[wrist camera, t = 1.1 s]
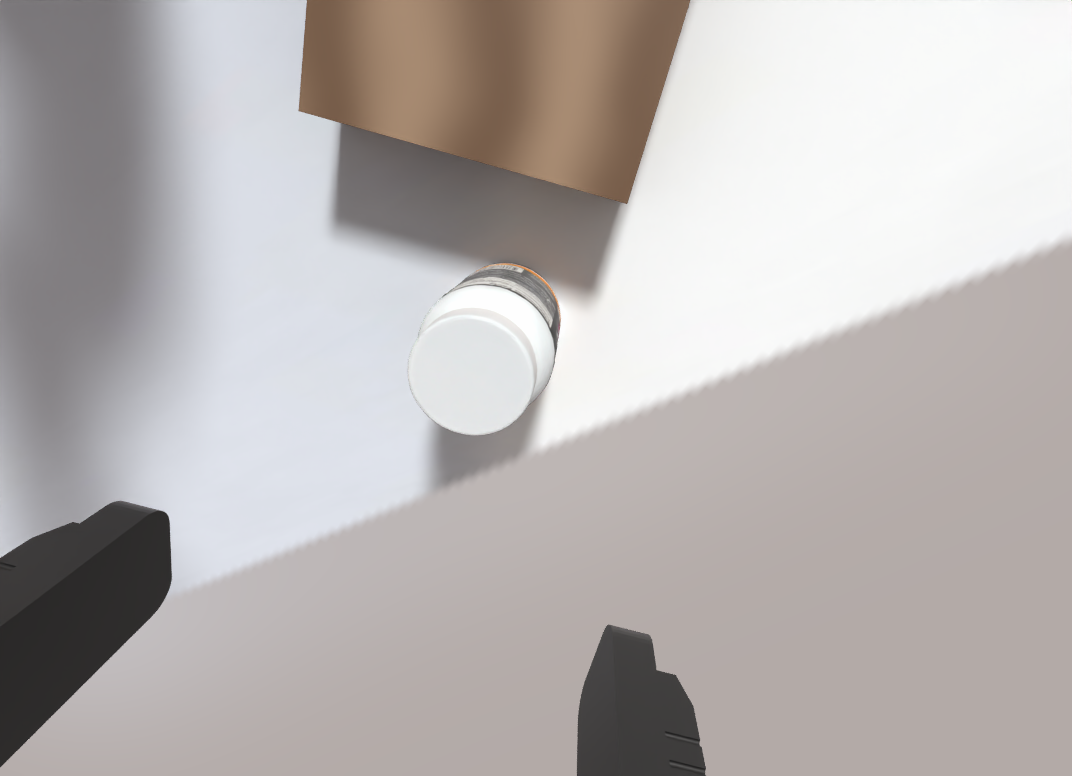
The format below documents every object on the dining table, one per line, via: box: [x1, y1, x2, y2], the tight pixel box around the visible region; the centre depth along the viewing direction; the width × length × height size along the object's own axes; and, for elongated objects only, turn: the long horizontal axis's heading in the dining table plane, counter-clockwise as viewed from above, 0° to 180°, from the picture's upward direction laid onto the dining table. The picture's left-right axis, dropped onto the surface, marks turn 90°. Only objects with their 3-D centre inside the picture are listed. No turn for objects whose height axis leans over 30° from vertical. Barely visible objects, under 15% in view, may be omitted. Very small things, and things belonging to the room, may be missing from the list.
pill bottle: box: [408, 263, 561, 435], centre depth 24 cm, size 6×6×10 cm
